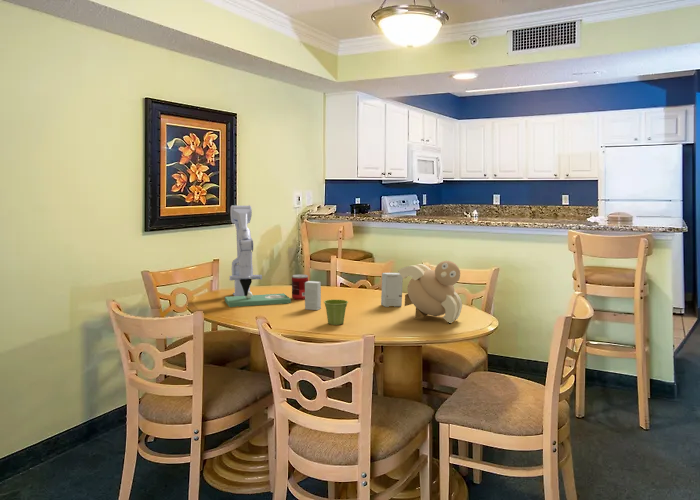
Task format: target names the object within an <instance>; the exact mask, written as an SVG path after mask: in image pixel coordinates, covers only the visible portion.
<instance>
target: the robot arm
mask: <svg viewBox="0 0 700 500" xmlns="http://www.w3.org/2000/svg"><path fill="white" fill-rule="evenodd" d="M252 210H253V209H252V206H251V205H250V204H248V205H231V206H230V221H231V223H232V224H233V225H234V226H235V230H236V233H235V234H236V258H235V259H233V260H232V262H231V275H229V277H228V278H229V281H230V282H231V281H234V292H232V295H233V296H247V294H248V291H250V292H251V284H252V282H253V280H263V275H262V274H254V269H253V268H254V267H253V266H254V265H253V252H254V240H253V238H252V233H251V229H250V228H249V227H248V224H250V223H251V219H252V216H253V215H252V214H253V213H252V212H253V211H252Z"/></svg>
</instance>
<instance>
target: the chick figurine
mask: <svg viewBox="0 0 700 500" xmlns="http://www.w3.org/2000/svg"><path fill="white" fill-rule="evenodd" d="M397 273H399V274H400V275H401V276H402V278H403V280H404V279H406V278H407V277H410V278H411V279H410V280H409V282H408V284H407V288H406V289H407V294H404V307H407V306H412V305H413V306H414V307H415V313H414V314H415V316H414V319H415V318H416V319H420V318H424V317H426V316H432V317H437V316H438V317H440V316H442V318H443V319H444V320H445V321H446V322H447V323H448V322H449V323H452V322H453V323H454V322H455V321H457V320H458V319H459V317H460V315H461V312H462V309H463V302H462V301H463V300H462V299H461V297H460V295H459V294H458V293H457V292H456V289H455V287H454V285H455V284H457V283H458V281H459V280H460V278H461V270H460V268H459V266H458V265H457V264H456V263H455V262H453V261H450V260H442V261H440V262H438V264H436V266H435V269H431V267H430V266H428V265H426V264H424V263H418V264H415V265H414V264H413V265H408V266H404V267H402V268H400V269H398V270H397ZM449 323H448V324H449ZM453 323H452V324H453Z"/></svg>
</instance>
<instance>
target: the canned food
mask: <svg viewBox="0 0 700 500" xmlns="http://www.w3.org/2000/svg"><path fill="white" fill-rule="evenodd" d="M308 281H309V275H307V274H301V273H300V274H293V275H291V299H292V300H296V301H297V300H299V301H303V300H305V282H308Z"/></svg>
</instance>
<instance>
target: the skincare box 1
mask: <svg viewBox="0 0 700 500" xmlns="http://www.w3.org/2000/svg"><path fill="white" fill-rule="evenodd" d="M321 283H322V282H321V281H315V280H308V282H305V299H304V310H309V311H310V310H311V311H319V310H320V309H322V303H321V302H322V298H321V297H322V294H321V293H322V289H321V288H322V287H321V285H322V284H321Z"/></svg>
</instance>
